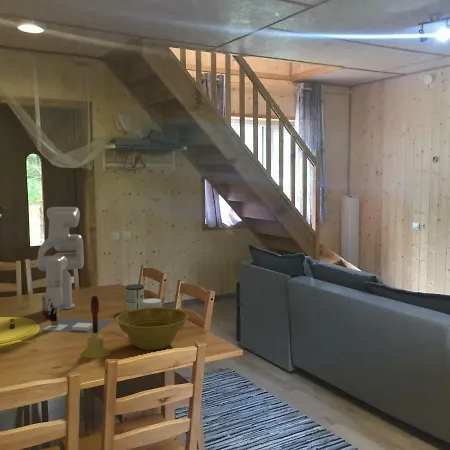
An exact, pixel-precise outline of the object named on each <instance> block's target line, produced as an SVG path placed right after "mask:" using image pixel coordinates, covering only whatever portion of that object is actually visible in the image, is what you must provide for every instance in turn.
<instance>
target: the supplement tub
mask: <svg viewBox="0 0 450 450" xmlns="http://www.w3.org/2000/svg"><path fill="white" fill-rule="evenodd" d="M143 308H163V307H162V300H161V299H159V298H144V300H143V301H142V309H143Z"/></svg>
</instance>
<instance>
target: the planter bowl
mask: <svg viewBox="0 0 450 450" xmlns="http://www.w3.org/2000/svg"><path fill="white" fill-rule="evenodd" d="M188 318H189V315H188V313H187V312H185V311H183V310H181V309H176V308H171V307H162V308H143V309H136V310H131V311H127V312H126V311H125V312H121V313H120V314H118V315H117V316H116V317H115V322H116V323H117V324H118V326H119V327H120V330H121V331H122V332H123V333H125V334H127V336H128V338H129V340H130V341H131V343H132V344H133V346H135V347H137V348H138V349H141V350H145V351H156V350H161V349H164V348H166V347H167V348H168V346H169V345H171V344H172V343H173V341H174V339H175V337H176V335H177V333H178V332H179V331H180V330H181V329H182V328H183V327H184V325H185V324H186V323H185V322H186V320H188Z"/></svg>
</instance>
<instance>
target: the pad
mask: <svg viewBox="0 0 450 450" xmlns="http://www.w3.org/2000/svg"><path fill="white" fill-rule="evenodd" d="M67 326H68V325H58V326H51V324H49V325H48V326H46V327H44V328H42V331H43V330H51V331H50V332H61V330H62V329H64V328H66V327H67Z"/></svg>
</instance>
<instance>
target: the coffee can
mask: <svg viewBox="0 0 450 450" xmlns="http://www.w3.org/2000/svg"><path fill="white" fill-rule="evenodd" d="M144 288H145V285H144V284H135V283H134V284H128V285H125V308H126V309H125V312H127V311H131V310H136V309H142V301H143V300H145V289H144Z"/></svg>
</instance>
